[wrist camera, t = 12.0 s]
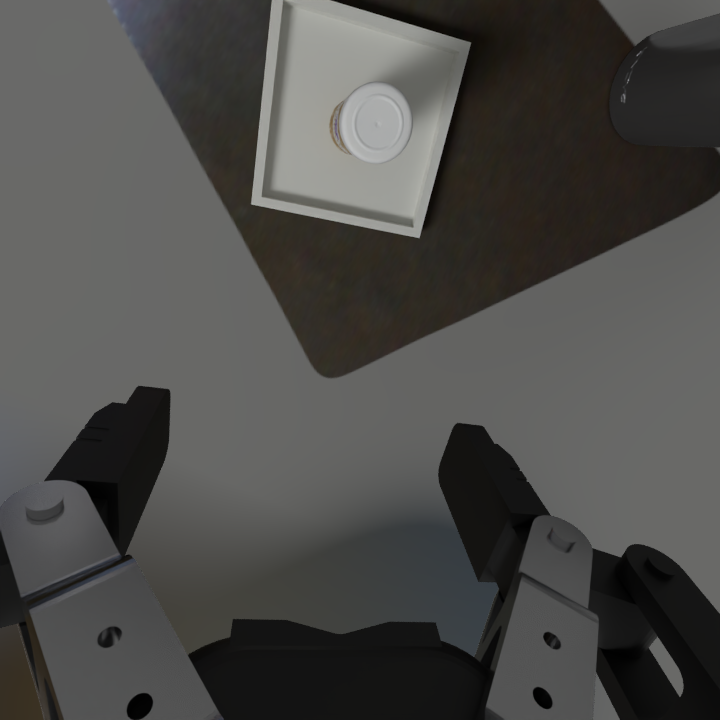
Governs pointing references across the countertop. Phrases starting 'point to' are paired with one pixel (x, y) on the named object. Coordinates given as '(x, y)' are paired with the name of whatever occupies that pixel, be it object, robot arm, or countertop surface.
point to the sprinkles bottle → (372, 123)
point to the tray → (328, 89)
